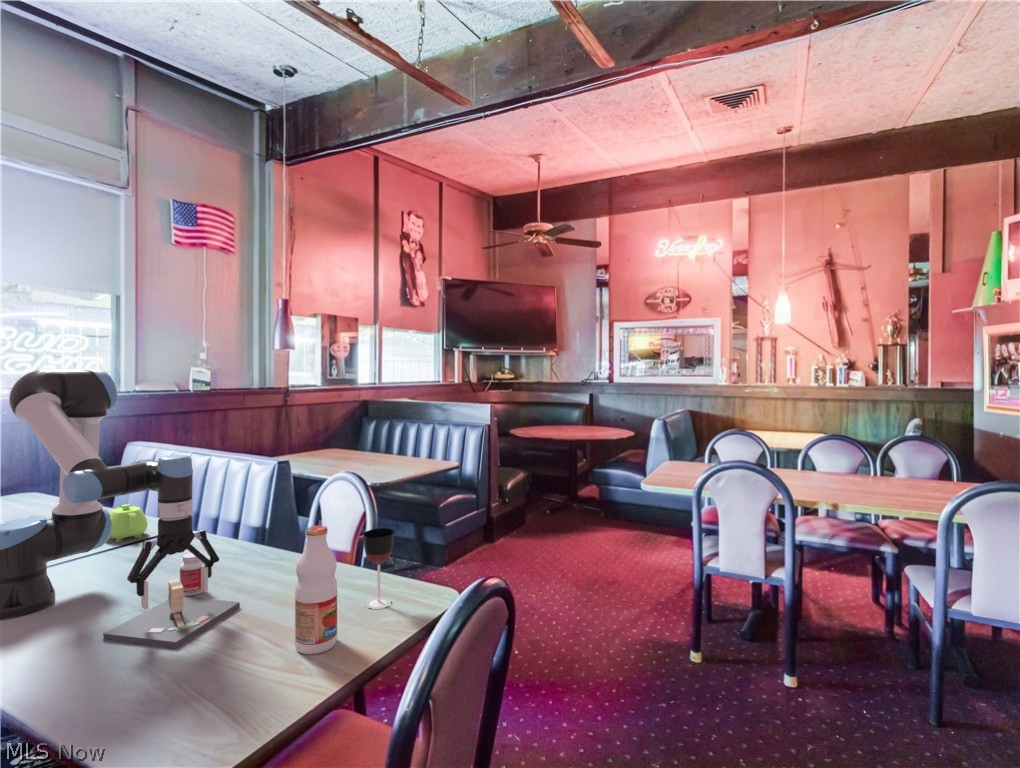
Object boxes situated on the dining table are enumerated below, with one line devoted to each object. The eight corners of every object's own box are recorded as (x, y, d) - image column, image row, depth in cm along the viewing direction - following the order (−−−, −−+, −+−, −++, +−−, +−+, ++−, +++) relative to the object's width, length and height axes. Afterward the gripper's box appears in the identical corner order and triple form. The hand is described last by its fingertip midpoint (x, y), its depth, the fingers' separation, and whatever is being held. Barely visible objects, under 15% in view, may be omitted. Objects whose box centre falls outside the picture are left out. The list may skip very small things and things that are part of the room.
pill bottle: (205, 593, 155) (205, 556, 155) (180, 598, 152) (180, 560, 152) (203, 586, 160) (203, 549, 160) (179, 591, 157) (179, 553, 157)
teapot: (97, 536, 207) (96, 503, 207) (137, 528, 217) (137, 497, 217) (113, 547, 194) (112, 512, 194) (155, 538, 205) (155, 505, 204)
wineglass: (399, 600, 152) (400, 530, 152) (380, 612, 144) (380, 539, 144) (377, 595, 156) (377, 526, 155) (356, 607, 148) (357, 535, 147)
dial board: (103, 639, 129) (103, 632, 129) (176, 601, 150) (176, 595, 150) (175, 648, 125) (175, 641, 125) (239, 607, 147) (239, 601, 147)
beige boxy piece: (167, 612, 139) (167, 581, 139) (180, 609, 141) (180, 578, 141) (174, 630, 130) (174, 597, 130) (188, 627, 132) (187, 594, 131)
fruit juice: (298, 637, 131) (298, 523, 130) (338, 633, 133) (339, 521, 132) (291, 657, 122) (291, 535, 121) (335, 653, 124) (335, 532, 123)
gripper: (121, 530, 125) (121, 620, 126) (232, 509, 144) (232, 588, 145) (112, 524, 130) (112, 610, 130) (221, 505, 149) (221, 580, 149)
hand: (175, 598), depth 138 cm, fingers open, 13 cm apart
